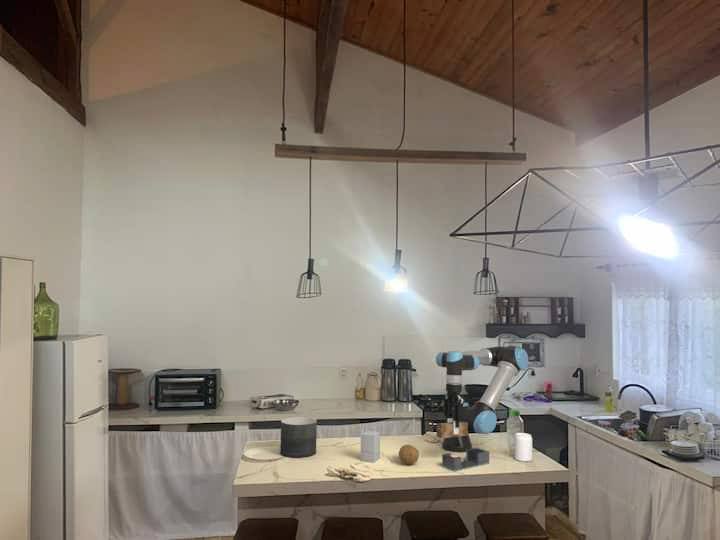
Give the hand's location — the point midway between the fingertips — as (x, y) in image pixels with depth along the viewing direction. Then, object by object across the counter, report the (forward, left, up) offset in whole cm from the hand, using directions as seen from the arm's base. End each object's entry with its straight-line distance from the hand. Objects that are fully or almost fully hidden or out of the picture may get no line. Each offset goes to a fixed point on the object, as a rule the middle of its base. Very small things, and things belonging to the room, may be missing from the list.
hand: (452, 433), depth 254 cm
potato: (-8, -20, -13) cm, 26 cm away
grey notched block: (+8, +1, -13) cm, 15 cm away
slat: (0, 0, -1) cm, 1 cm away
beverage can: (+17, +31, -13) cm, 37 cm away
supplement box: (-22, -32, -13) cm, 41 cm away
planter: (-50, -56, -13) cm, 77 cm away
